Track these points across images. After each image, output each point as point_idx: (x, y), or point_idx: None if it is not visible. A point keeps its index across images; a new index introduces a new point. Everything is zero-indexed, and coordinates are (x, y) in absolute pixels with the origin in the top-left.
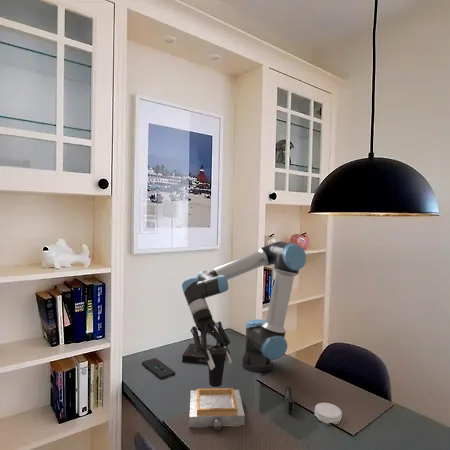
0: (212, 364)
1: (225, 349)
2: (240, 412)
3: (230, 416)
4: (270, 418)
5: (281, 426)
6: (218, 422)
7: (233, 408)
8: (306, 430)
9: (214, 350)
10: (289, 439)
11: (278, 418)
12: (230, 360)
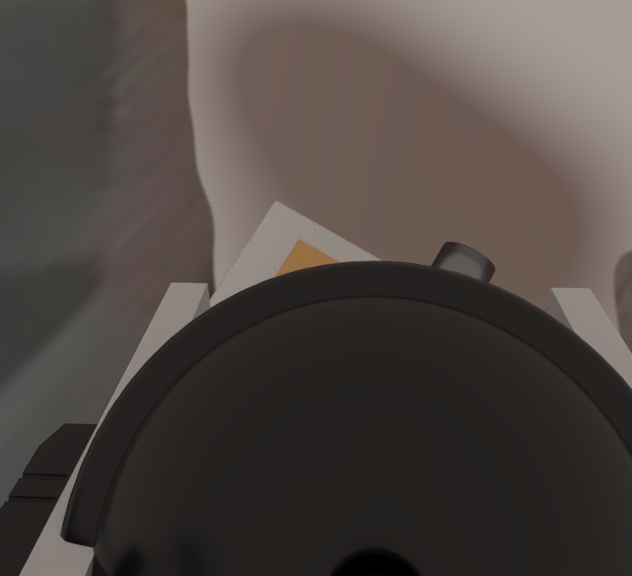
0: (608, 318)
1: (166, 394)
2: (276, 242)
3: (362, 250)
4: (97, 199)
5: (105, 111)
6: (469, 248)
7: (319, 261)
8: (25, 21)
9: (579, 450)
10: (157, 17)
11: (58, 173)
12: (178, 302)
